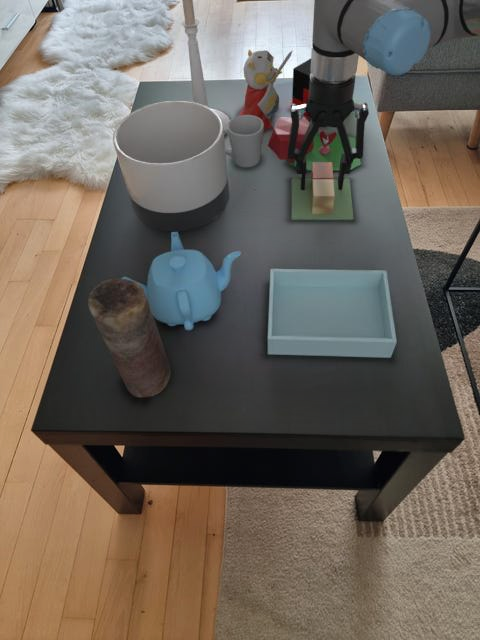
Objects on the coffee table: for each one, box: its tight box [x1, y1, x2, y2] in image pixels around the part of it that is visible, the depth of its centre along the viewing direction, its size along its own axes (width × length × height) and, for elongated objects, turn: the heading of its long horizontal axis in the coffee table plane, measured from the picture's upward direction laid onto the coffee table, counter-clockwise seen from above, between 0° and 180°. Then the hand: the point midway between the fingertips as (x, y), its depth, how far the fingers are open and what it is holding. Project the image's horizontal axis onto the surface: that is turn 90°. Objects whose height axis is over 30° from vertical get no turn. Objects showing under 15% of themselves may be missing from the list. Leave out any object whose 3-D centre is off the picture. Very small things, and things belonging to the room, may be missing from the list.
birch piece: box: [311, 178, 335, 214], centre depth 94 cm, size 4×5×4 cm
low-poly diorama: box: [267, 116, 362, 172], centre depth 102 cm, size 15×20×9 cm
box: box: [267, 268, 397, 359], centre depth 78 cm, size 19×14×4 cm
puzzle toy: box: [291, 58, 311, 120], centre depth 112 cm, size 10×10×10 cm
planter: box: [112, 100, 230, 232], centre depth 91 cm, size 19×19×18 cm
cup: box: [223, 115, 264, 168], centre depth 103 cm, size 8×10×8 cm
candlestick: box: [181, 0, 231, 136], centre depth 102 cm, size 13×13×30 cm
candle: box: [87, 278, 172, 398], centre depth 67 cm, size 8×7×20 cm
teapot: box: [121, 231, 242, 331], centre depth 79 cm, size 15×14×11 cm
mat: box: [290, 178, 355, 221], centre depth 97 cm, size 12×12×1 cm
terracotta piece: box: [310, 162, 334, 195], centre depth 97 cm, size 4×5×4 cm
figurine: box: [238, 49, 293, 131], centre depth 109 cm, size 13×12×15 cm
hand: (321, 185), depth 98 cm, fingers open, 7 cm apart
